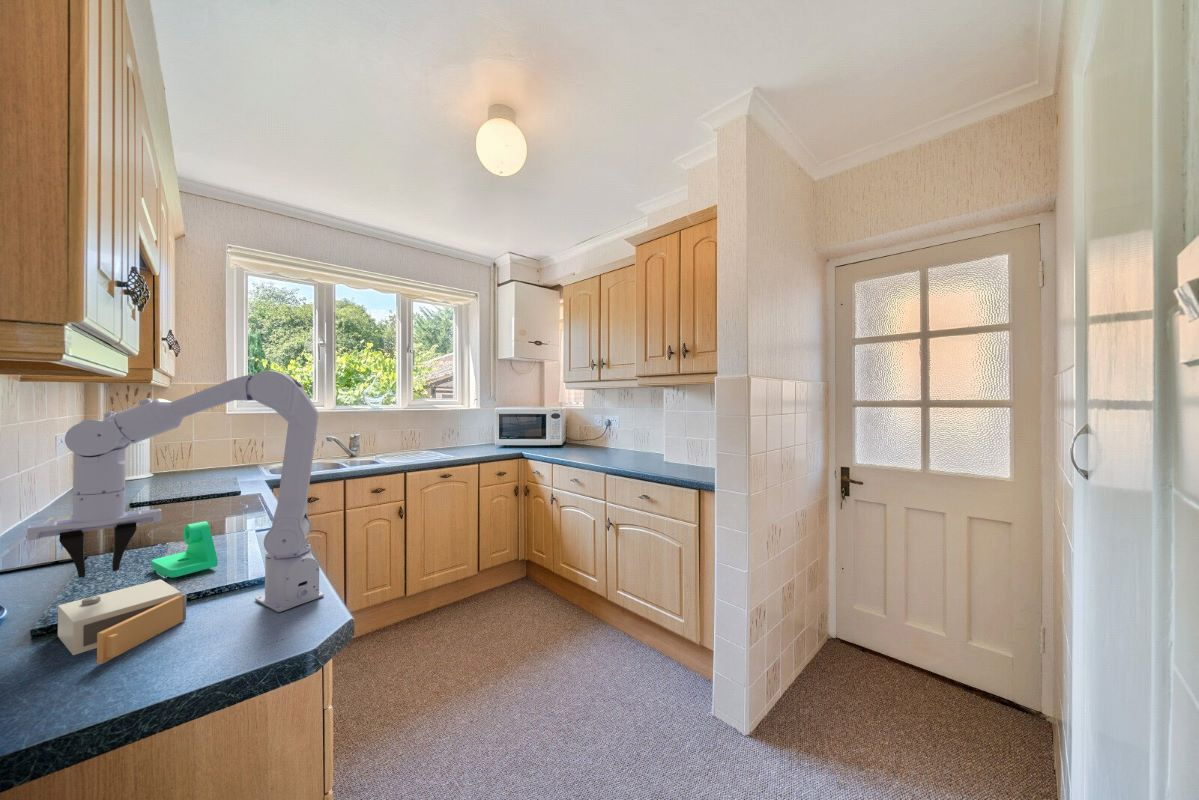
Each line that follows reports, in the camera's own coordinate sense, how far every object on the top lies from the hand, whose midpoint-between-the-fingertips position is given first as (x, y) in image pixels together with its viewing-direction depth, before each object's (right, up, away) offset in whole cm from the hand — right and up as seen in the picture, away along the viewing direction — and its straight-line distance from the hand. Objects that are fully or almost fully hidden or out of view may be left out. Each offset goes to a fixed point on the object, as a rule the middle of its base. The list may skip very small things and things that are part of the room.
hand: (99, 572), depth 72 cm
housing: (+3, -10, 0) cm, 10 cm away
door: (+12, -9, -3) cm, 16 cm away
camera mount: (-9, -10, +24) cm, 28 cm away
